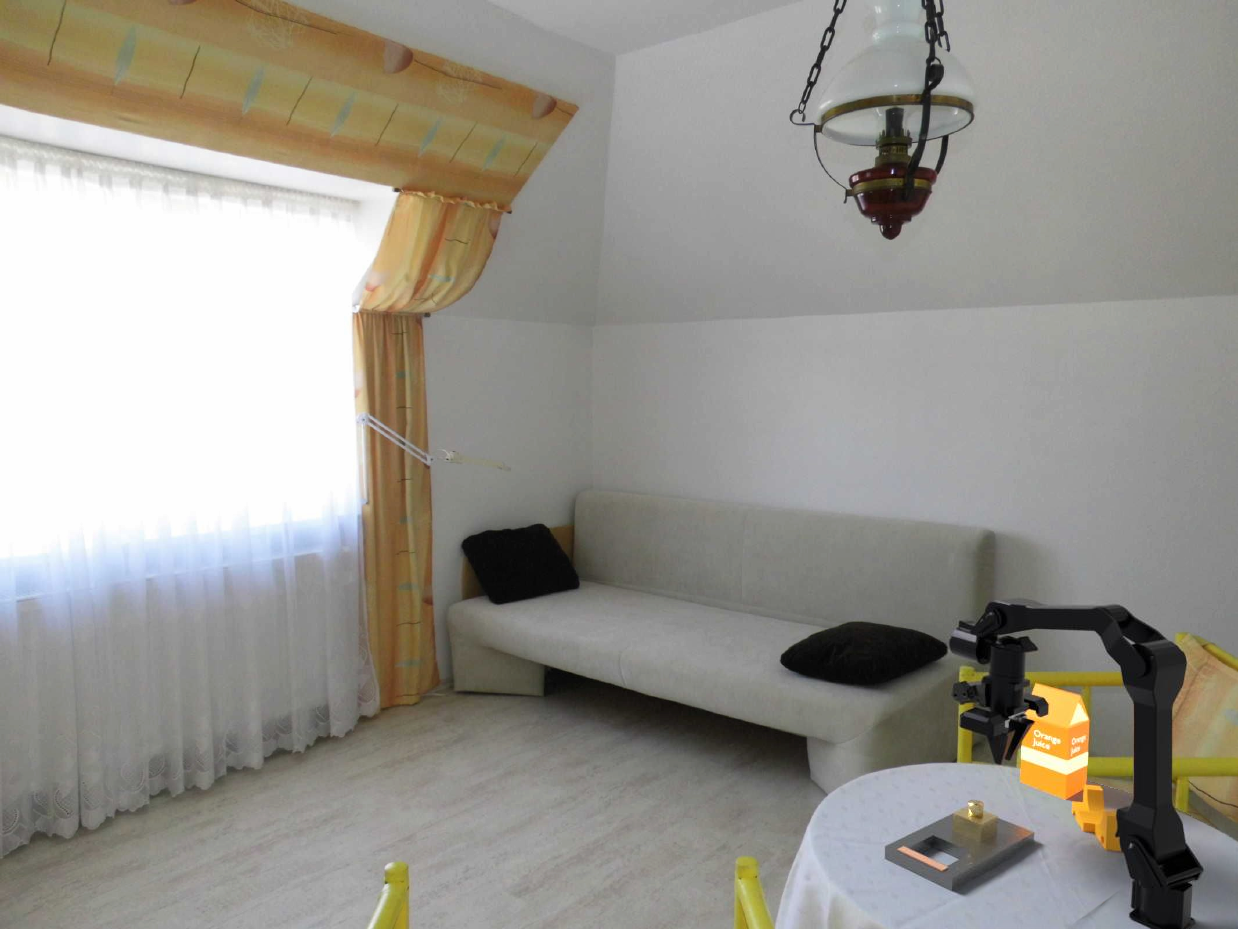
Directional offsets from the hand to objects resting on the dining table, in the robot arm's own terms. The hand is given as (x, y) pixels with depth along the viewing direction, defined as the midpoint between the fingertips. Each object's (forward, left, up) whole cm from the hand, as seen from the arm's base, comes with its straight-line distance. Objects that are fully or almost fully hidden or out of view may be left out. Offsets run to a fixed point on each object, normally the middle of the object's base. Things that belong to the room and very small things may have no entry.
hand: (1002, 762), depth 154 cm
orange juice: (+2, -22, -12) cm, 25 cm away
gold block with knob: (0, +8, -10) cm, 13 cm away
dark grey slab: (0, +12, -12) cm, 17 cm away
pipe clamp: (-11, -11, -12) cm, 20 cm away
